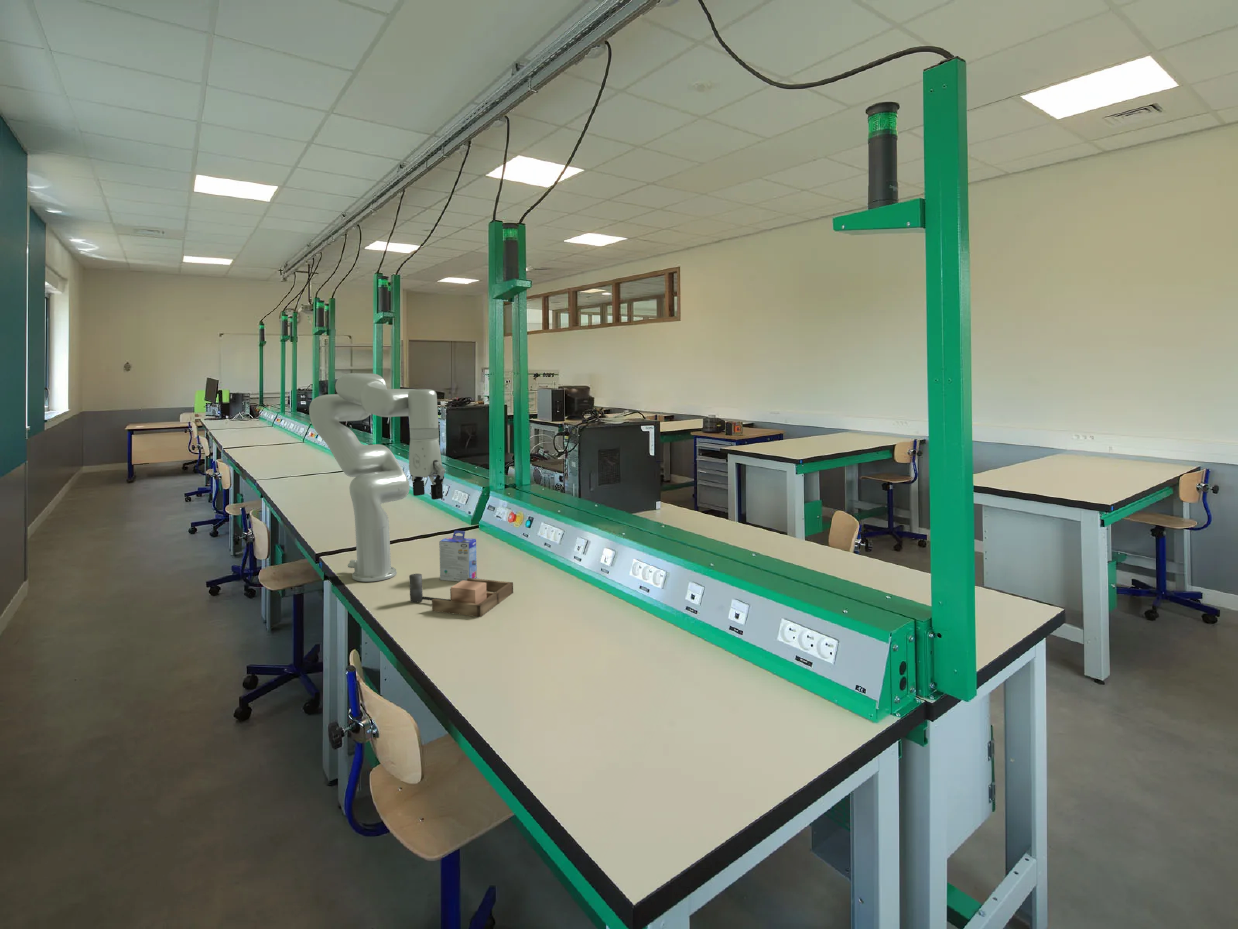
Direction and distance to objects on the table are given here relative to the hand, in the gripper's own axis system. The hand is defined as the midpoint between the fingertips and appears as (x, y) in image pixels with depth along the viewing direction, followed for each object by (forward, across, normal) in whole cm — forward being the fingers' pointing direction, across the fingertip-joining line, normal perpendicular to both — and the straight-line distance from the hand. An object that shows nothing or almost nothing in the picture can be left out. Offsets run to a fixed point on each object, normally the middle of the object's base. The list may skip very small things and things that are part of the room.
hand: (428, 497), depth 171 cm
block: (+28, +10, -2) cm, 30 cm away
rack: (+28, +13, +5) cm, 31 cm away
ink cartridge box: (+28, -7, +12) cm, 31 cm away
